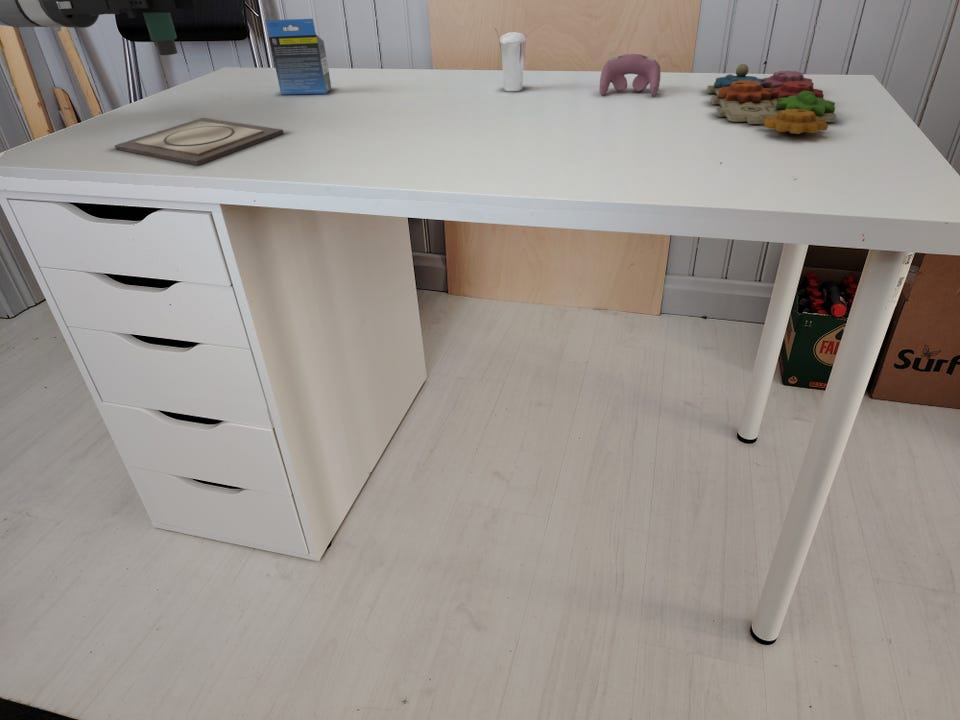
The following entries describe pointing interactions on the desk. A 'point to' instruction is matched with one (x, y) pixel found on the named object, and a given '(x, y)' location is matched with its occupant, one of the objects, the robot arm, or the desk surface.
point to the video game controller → (630, 65)
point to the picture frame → (199, 140)
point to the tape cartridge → (299, 57)
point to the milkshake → (512, 59)
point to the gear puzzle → (773, 101)
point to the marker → (162, 32)
